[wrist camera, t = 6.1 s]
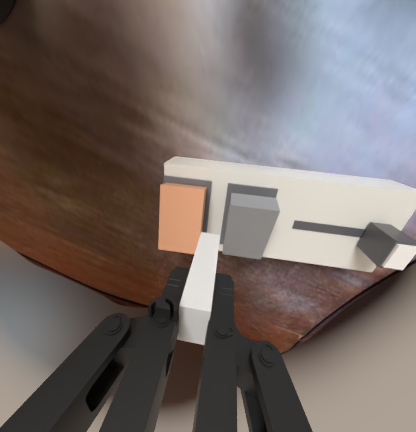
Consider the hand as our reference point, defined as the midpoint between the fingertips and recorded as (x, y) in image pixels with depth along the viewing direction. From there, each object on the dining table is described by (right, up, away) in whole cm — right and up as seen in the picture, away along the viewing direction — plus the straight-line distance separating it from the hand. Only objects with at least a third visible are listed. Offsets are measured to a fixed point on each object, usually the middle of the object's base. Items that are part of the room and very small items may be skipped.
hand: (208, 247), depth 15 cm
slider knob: (+21, 0, +9) cm, 22 cm away
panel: (+10, +4, +14) cm, 17 cm away
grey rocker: (+5, +1, +8) cm, 9 cm away
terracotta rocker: (-3, +2, +8) cm, 9 cm away
